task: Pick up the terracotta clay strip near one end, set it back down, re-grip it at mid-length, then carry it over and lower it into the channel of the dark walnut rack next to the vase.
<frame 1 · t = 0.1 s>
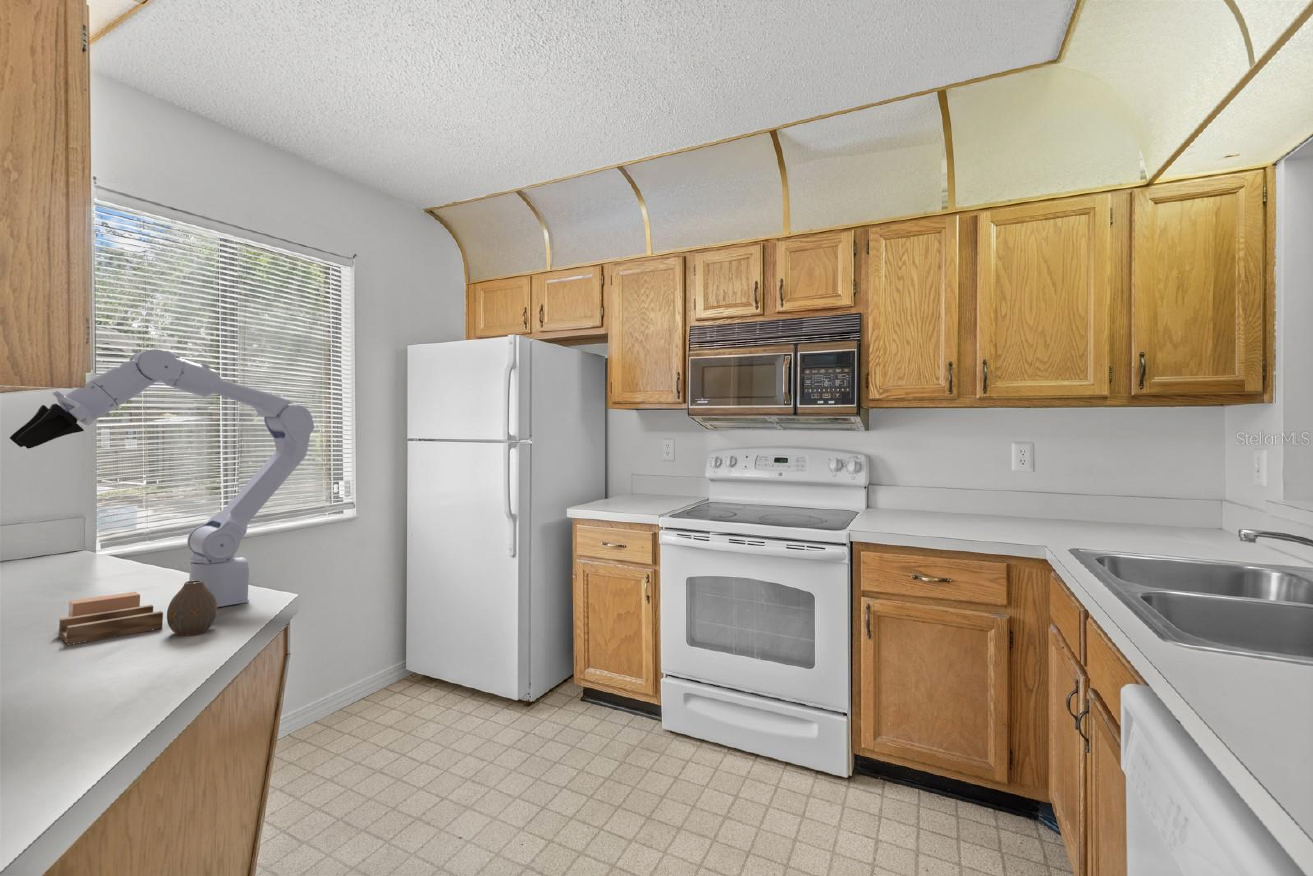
hand: (18, 443, 99), 32 cm above the countertop, tool tilted 50°, fingers open, 7 cm apart
vase: (191, 633, 104), on the countertop
clay strip: (104, 622, 108), on the countertop
rack: (111, 631, 102), on the countertop
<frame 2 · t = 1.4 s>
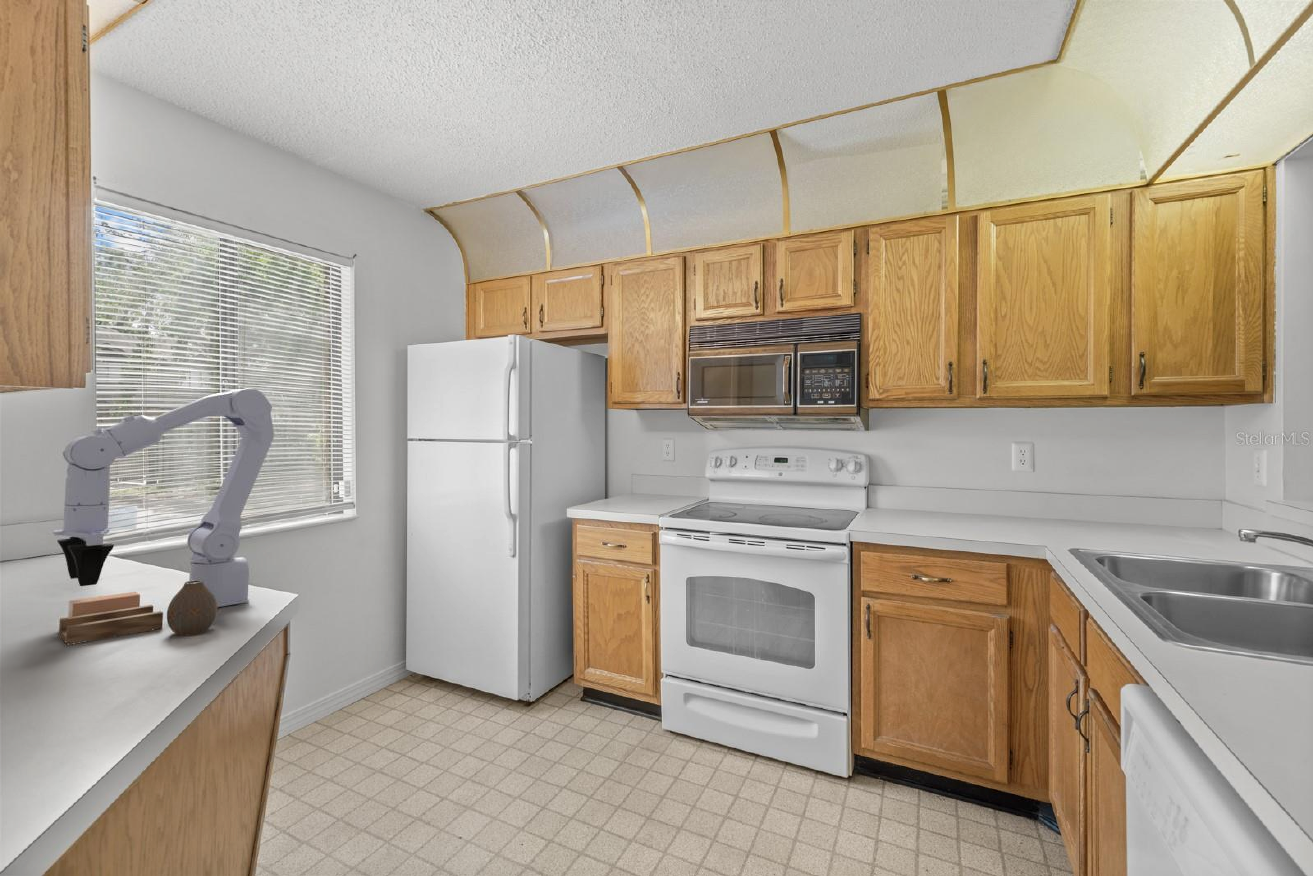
hand: (83, 581, 105), 8 cm above the countertop, tool pointing down, fingers open, 7 cm apart
nothing on the countertop moved.
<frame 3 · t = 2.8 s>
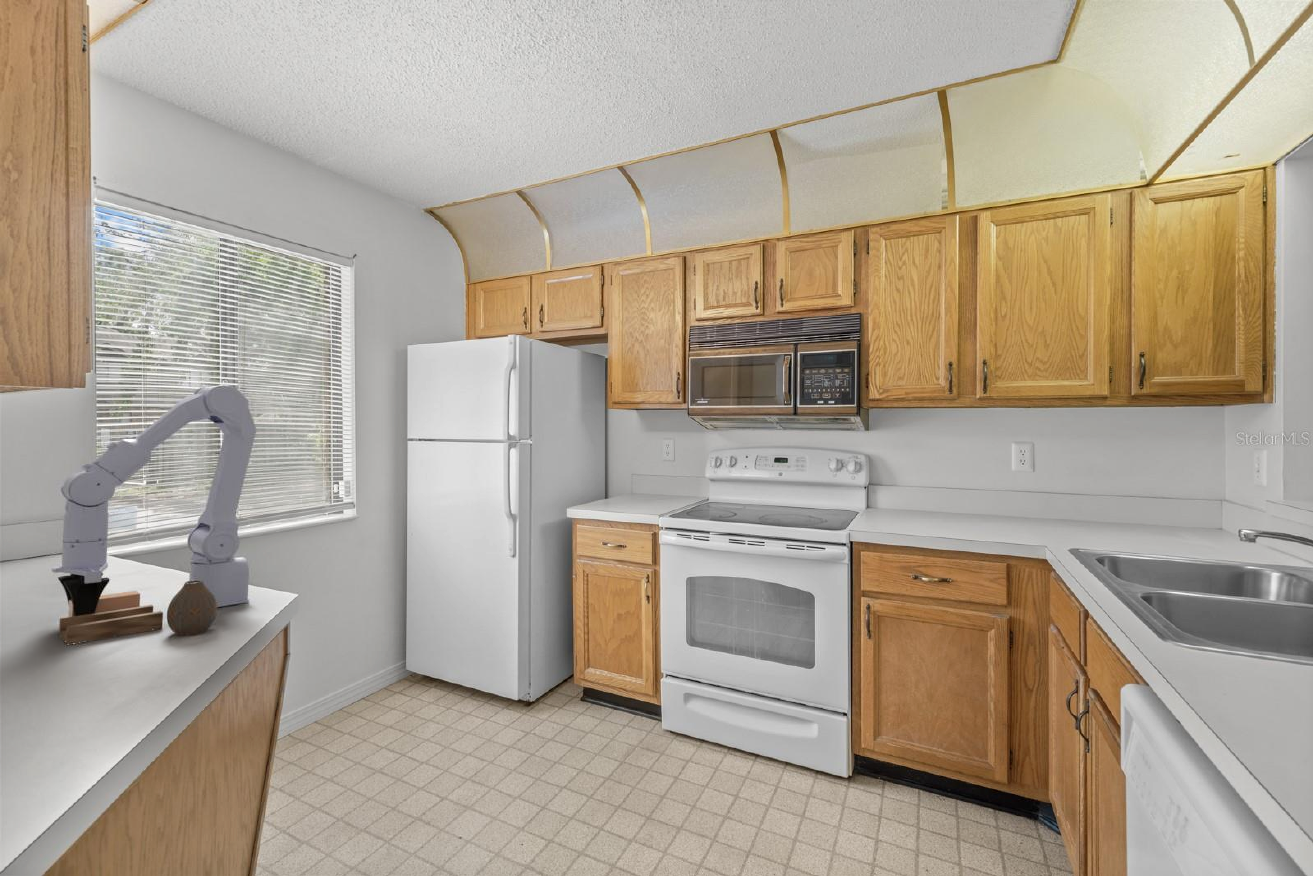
hand: (82, 617, 105), 1 cm above the countertop, tool pointing down, fingers closed on clay strip, 3 cm apart
clay strip: (104, 621, 108), on the countertop, touching gripper
everything else where it was.
when the fingers open (2 cm above the countertop, at t = 4.5 s): clay strip stays where it is, on the countertop.
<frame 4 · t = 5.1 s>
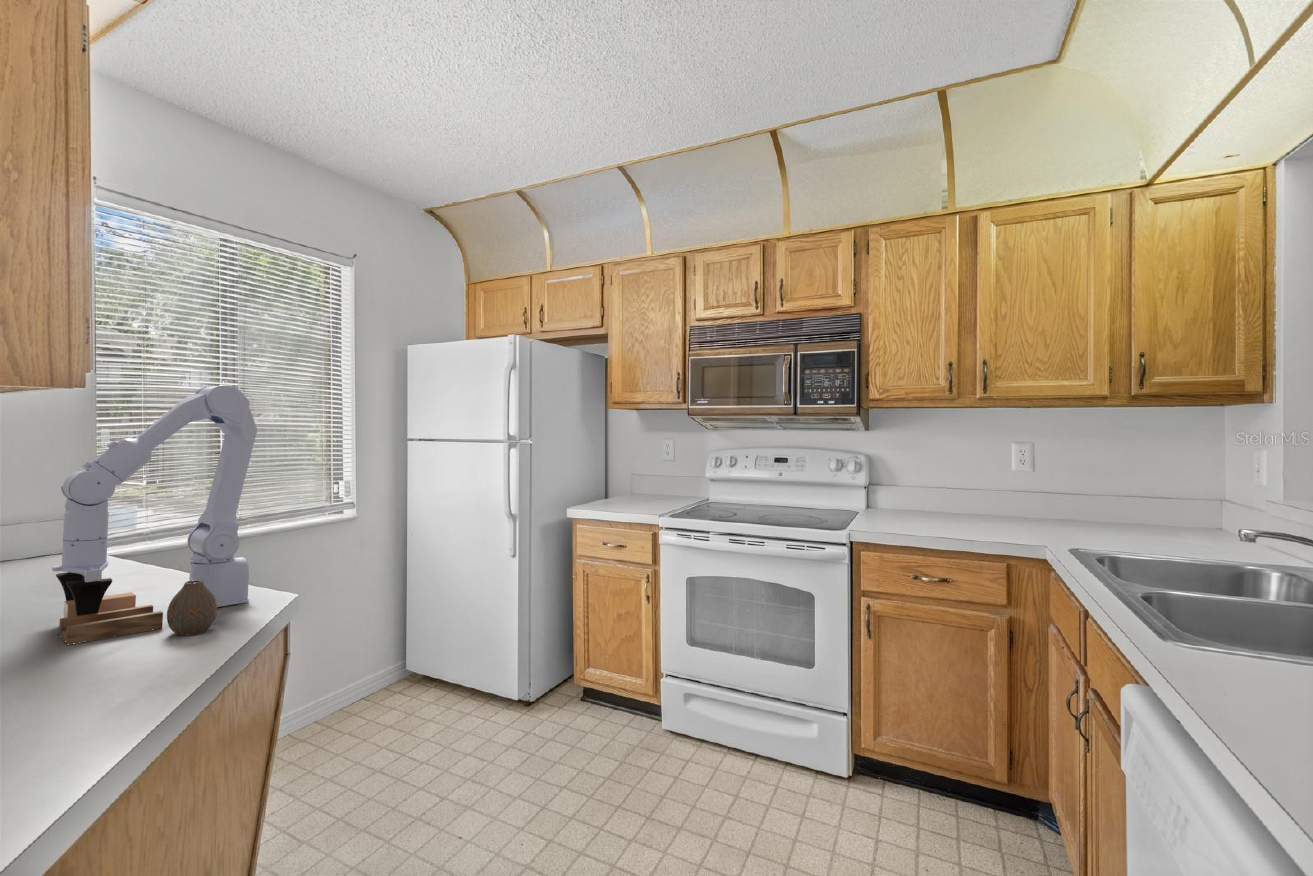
hand: (82, 616, 105), 2 cm above the countertop, tool pointing down, fingers open, 7 cm apart
clay strip: (99, 623, 107), on the countertop
everything else where it was.
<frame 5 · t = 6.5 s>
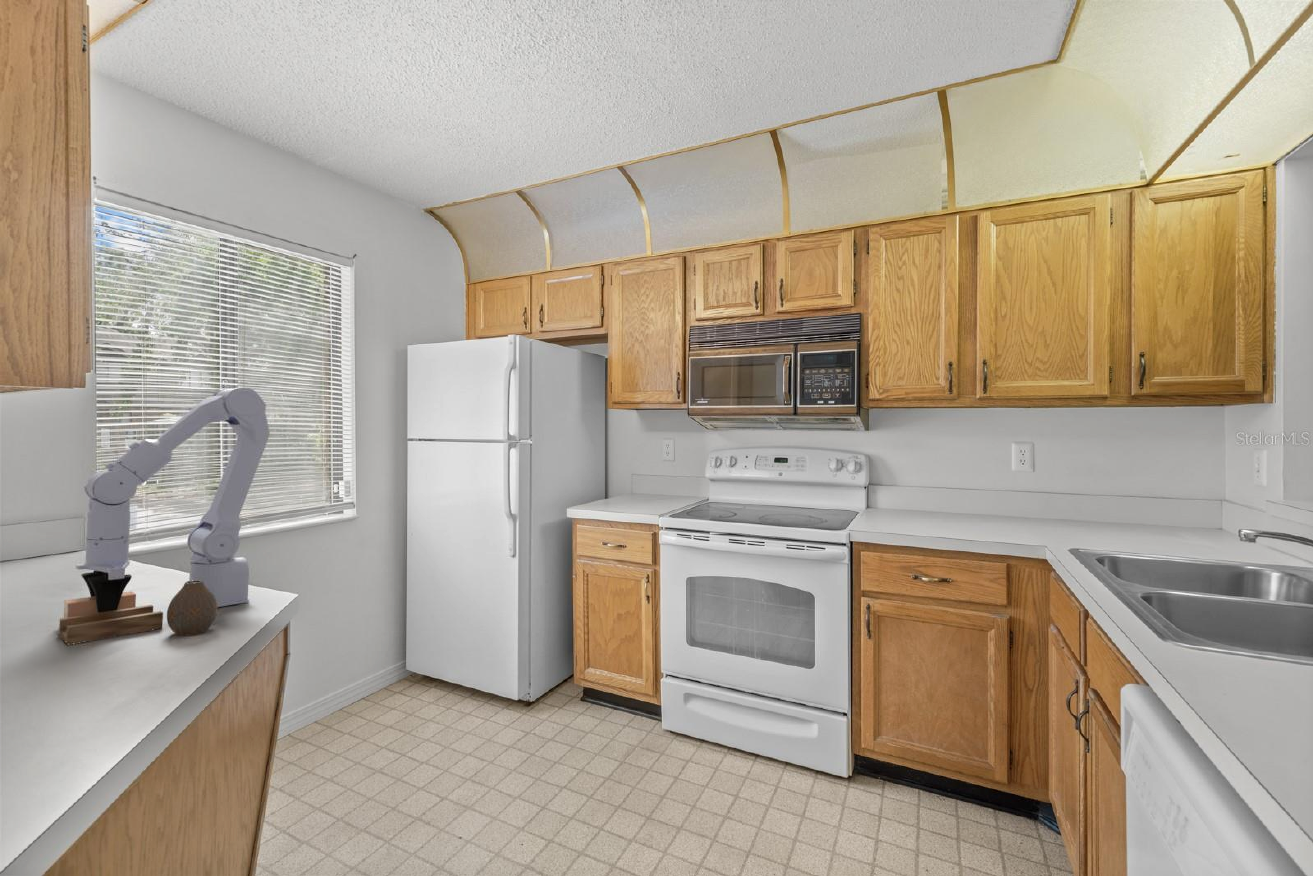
hand: (104, 613, 108), 2 cm above the countertop, tool pointing down, fingers closed on clay strip, 3 cm apart
clay strip: (99, 622, 107), on the countertop, touching gripper
everything else where it was.
when the fingers open (4 cm above the countertop, at t = 8.8 s): clay strip stays where it is, resting on rack.
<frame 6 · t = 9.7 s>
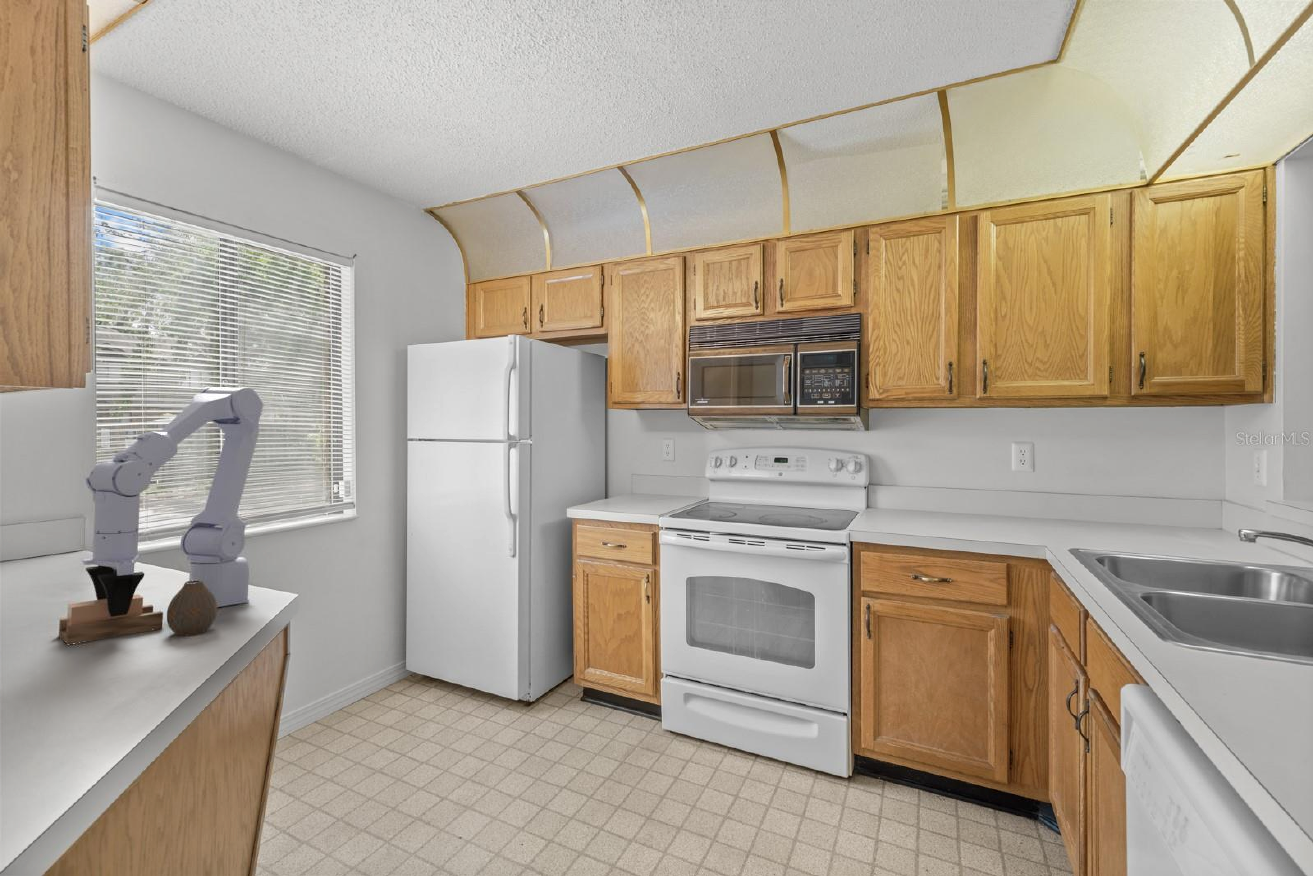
hand: (112, 610, 102), 4 cm above the countertop, tool pointing down, fingers open, 7 cm apart
clay strip: (105, 627, 102), point 1 cm above the countertop, touching rack
everything else where it was.
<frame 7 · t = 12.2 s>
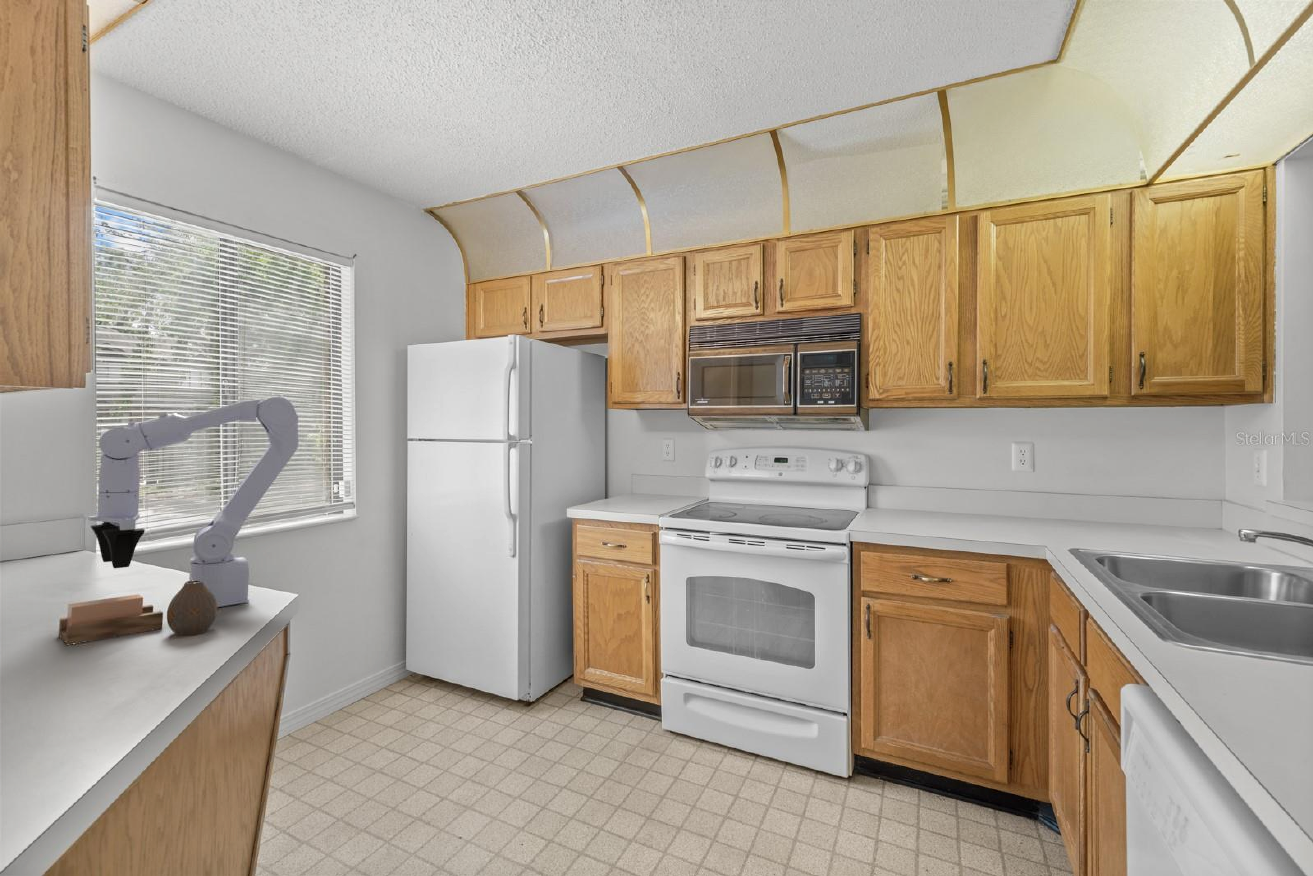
hand: (115, 564, 112), 9 cm above the countertop, tool pointing down, fingers open, 7 cm apart
nothing on the countertop moved.
at the end: clay strip 0.9 cm off-centre on the rack, point 1.0 cm above the rack's base; clay strip tilted 0°; the gripper is holding nothing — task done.
